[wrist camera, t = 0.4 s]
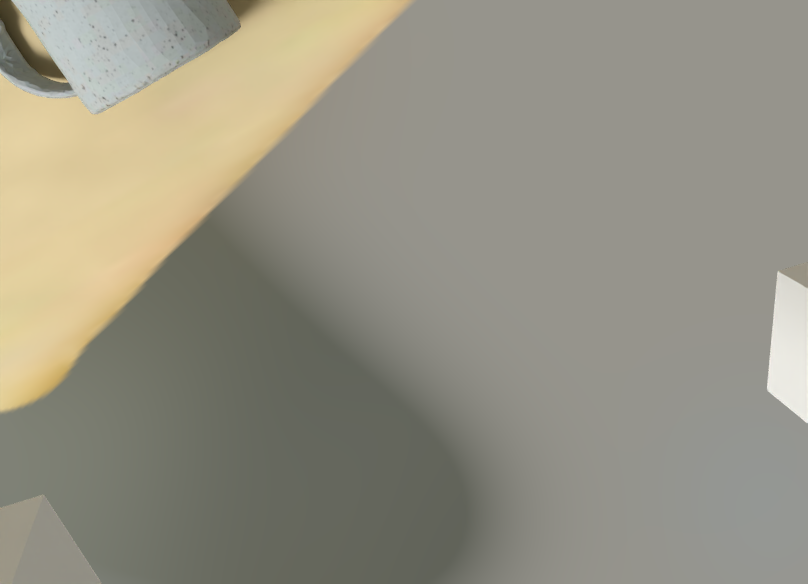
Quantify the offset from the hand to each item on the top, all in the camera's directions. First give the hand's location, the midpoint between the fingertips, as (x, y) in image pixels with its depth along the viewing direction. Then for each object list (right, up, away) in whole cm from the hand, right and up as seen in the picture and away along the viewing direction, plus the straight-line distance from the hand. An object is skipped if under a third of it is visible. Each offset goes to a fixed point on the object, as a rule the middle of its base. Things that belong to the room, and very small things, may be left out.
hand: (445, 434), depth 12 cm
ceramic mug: (-15, +16, +19) cm, 29 cm away
